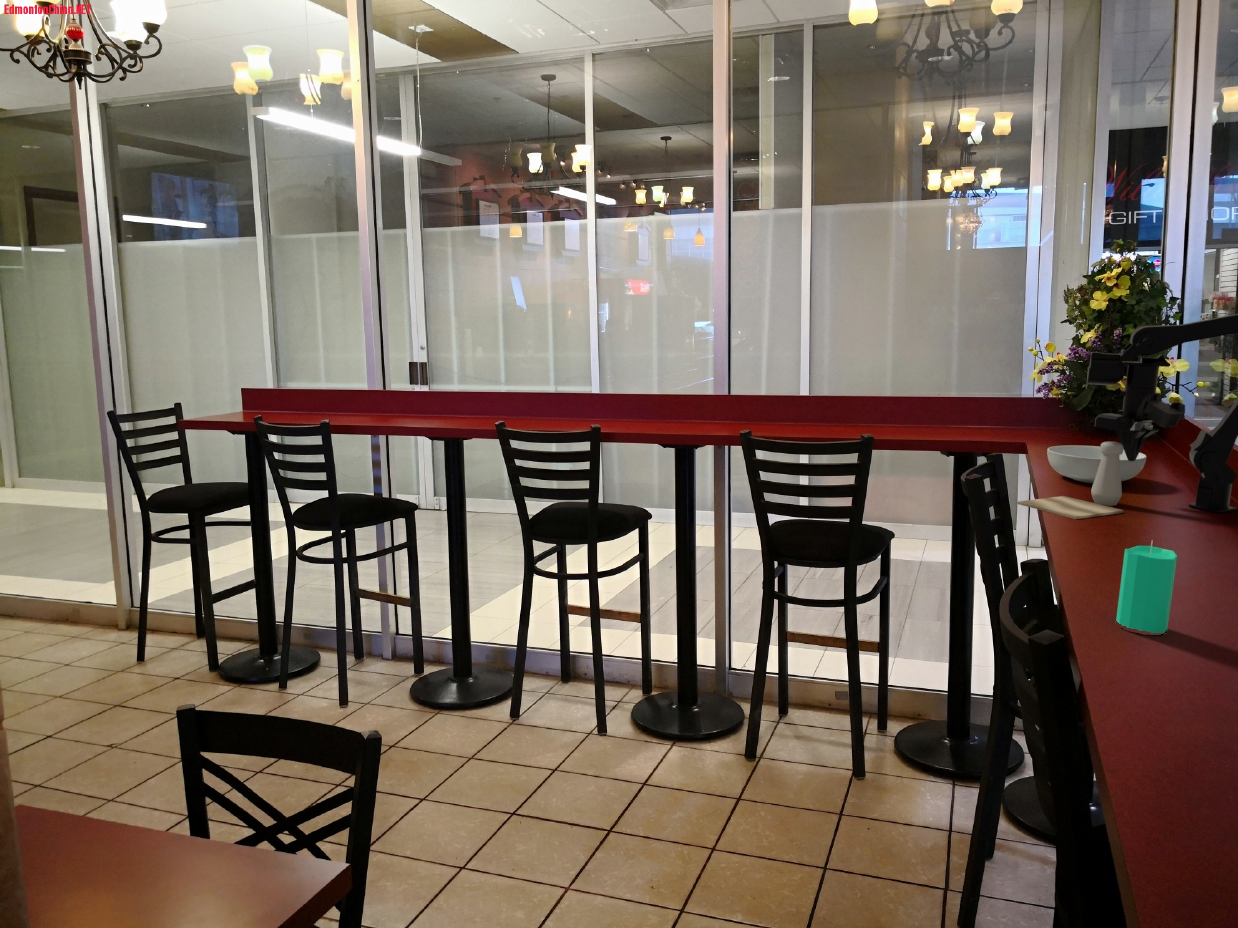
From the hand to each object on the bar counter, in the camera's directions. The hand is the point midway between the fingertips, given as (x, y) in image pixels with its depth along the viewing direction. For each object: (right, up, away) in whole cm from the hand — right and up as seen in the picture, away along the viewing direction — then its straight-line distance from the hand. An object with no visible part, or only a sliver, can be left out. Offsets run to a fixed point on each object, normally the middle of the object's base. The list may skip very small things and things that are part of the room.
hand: (1131, 460), depth 203 cm
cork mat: (-16, -10, -7) cm, 20 cm away
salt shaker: (-6, -9, -2) cm, 11 cm away
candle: (-39, -23, -75) cm, 88 cm away
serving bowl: (+3, -5, +23) cm, 24 cm away
